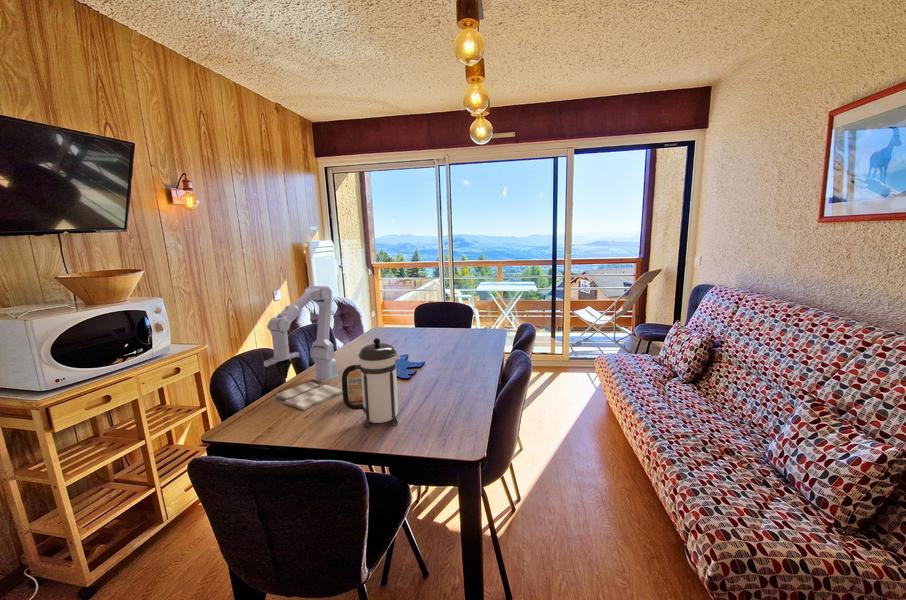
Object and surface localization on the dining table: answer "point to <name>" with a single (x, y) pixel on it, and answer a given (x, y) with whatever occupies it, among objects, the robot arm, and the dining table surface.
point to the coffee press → (375, 383)
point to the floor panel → (311, 397)
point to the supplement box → (355, 386)
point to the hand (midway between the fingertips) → (284, 378)
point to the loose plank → (297, 390)
